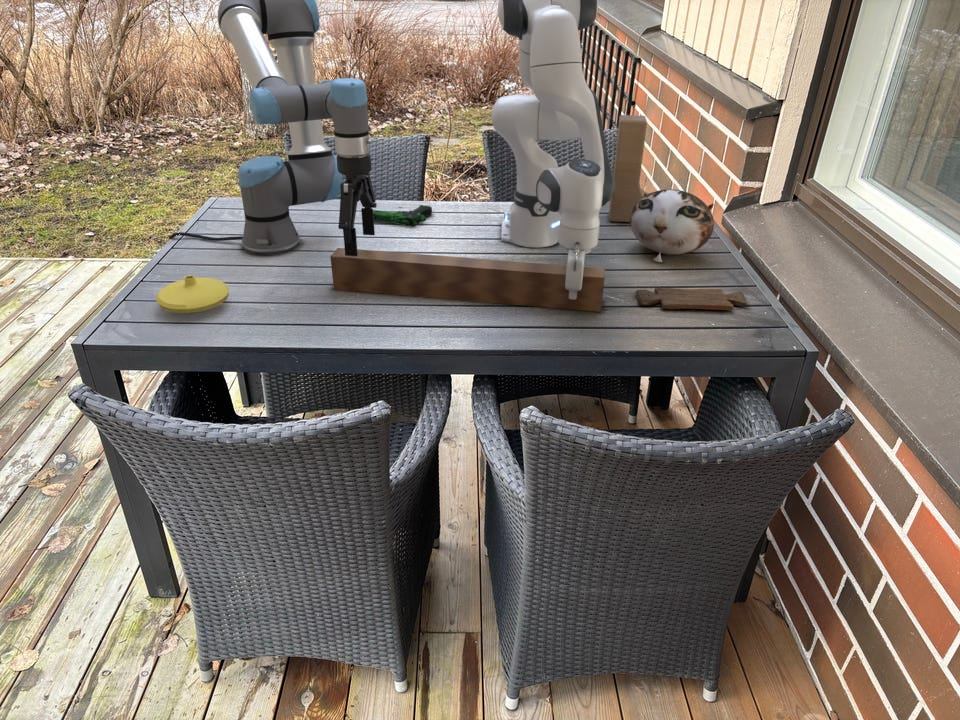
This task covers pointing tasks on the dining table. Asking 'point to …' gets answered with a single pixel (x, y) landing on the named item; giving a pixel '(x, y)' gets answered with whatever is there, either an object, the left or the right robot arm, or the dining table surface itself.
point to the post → (465, 279)
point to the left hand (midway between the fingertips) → (360, 244)
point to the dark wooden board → (691, 298)
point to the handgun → (404, 216)
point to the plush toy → (672, 222)
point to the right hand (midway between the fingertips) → (573, 291)
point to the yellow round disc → (192, 295)
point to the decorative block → (628, 167)
